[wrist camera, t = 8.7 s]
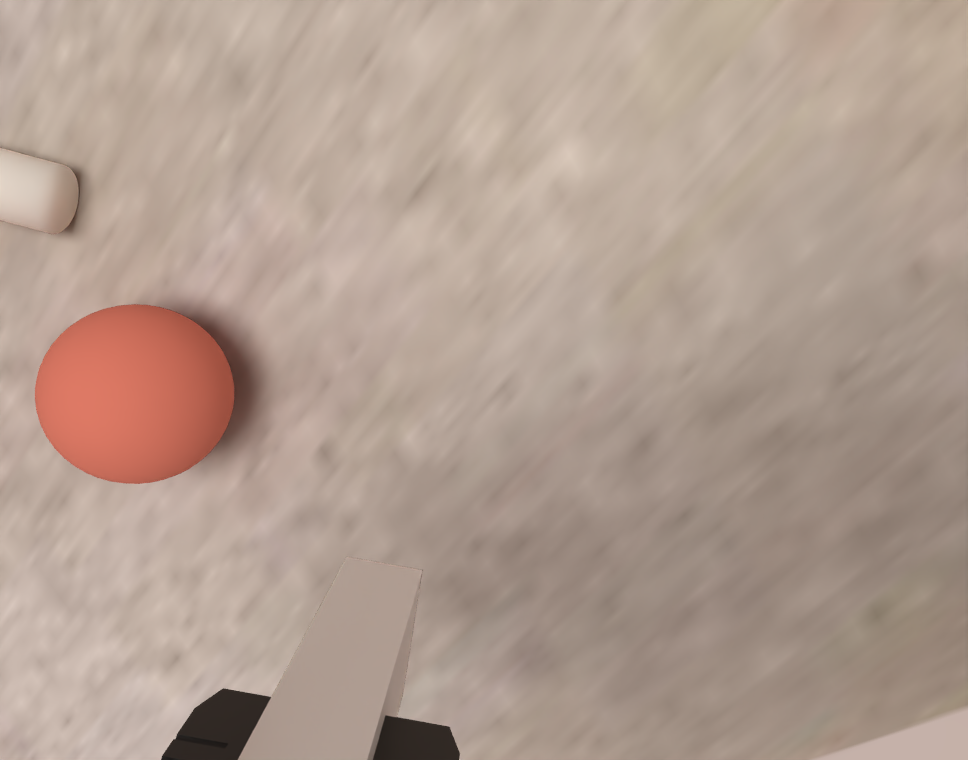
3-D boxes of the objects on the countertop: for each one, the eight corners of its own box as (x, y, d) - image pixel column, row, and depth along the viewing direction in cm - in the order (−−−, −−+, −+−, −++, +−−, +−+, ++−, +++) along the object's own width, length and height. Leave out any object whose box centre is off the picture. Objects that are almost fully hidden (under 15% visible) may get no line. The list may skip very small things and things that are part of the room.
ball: (31, 281, 24) (211, 302, 28) (15, 452, 25) (191, 449, 29) (63, 311, 20) (273, 331, 23) (41, 518, 20) (247, 505, 24)
